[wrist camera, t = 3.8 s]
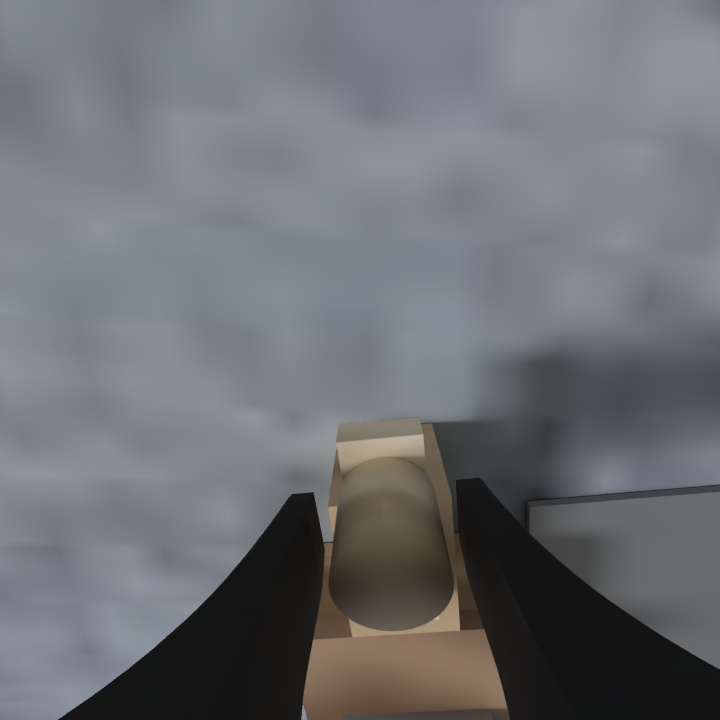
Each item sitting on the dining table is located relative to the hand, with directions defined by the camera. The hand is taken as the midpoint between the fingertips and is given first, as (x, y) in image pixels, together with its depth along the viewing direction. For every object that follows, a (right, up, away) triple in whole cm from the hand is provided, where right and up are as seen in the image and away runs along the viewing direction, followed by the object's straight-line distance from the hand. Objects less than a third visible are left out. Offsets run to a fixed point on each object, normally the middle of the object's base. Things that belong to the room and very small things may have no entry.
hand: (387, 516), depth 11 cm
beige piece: (0, -1, +2) cm, 2 cm away
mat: (+14, -8, +10) cm, 19 cm away
